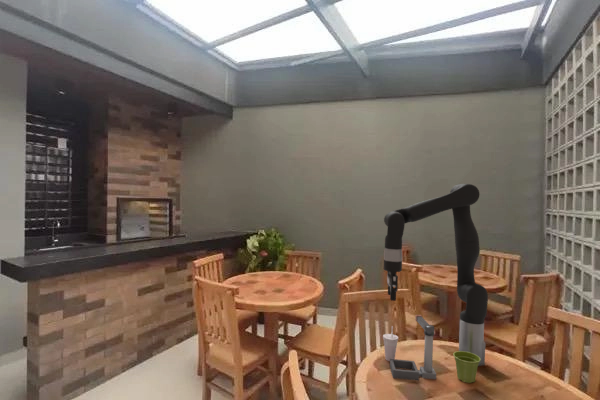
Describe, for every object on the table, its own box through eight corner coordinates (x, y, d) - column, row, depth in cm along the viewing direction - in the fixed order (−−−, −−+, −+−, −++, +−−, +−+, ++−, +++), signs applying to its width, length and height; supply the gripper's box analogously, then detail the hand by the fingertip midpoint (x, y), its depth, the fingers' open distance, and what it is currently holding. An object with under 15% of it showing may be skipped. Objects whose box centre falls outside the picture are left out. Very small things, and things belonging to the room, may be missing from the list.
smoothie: (398, 363, 143) (399, 329, 143) (382, 361, 144) (383, 328, 144) (397, 356, 149) (398, 324, 149) (381, 355, 150) (382, 322, 150)
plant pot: (453, 382, 129) (454, 359, 129) (451, 370, 138) (452, 349, 138) (481, 387, 126) (482, 364, 126) (477, 375, 135) (478, 353, 135)
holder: (431, 370, 138) (432, 330, 138) (437, 382, 129) (439, 340, 129) (389, 366, 140) (391, 327, 140) (392, 378, 131) (394, 336, 131)
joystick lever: (435, 336, 132) (435, 328, 132) (425, 335, 132) (426, 327, 132) (422, 321, 148) (422, 314, 148) (413, 320, 148) (413, 313, 148)
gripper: (404, 262, 139) (403, 303, 139) (399, 256, 153) (398, 293, 153) (385, 261, 140) (384, 301, 140) (382, 256, 154) (380, 292, 154)
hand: (391, 297), depth 147 cm, fingers open, 8 cm apart
